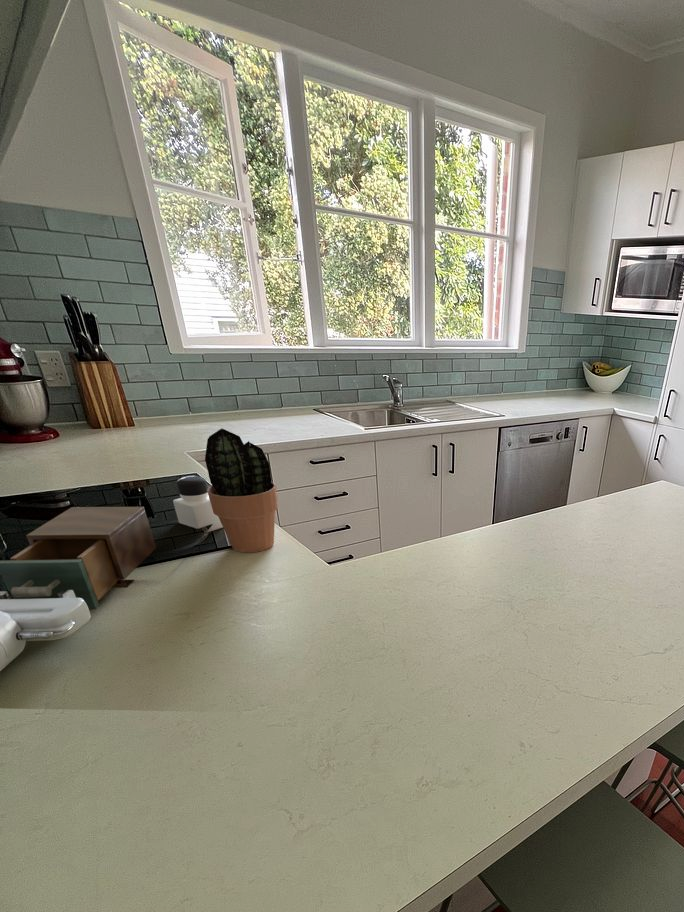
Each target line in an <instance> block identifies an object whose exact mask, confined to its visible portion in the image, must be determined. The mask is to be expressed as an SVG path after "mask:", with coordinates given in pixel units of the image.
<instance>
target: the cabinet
mask: <svg viewBox="0 0 684 912" xmlns="http://www.w3.org/2000/svg"><path fill="white" fill-rule="evenodd" d="M25 536H26V538H27V541H28V542H29V546H30V545H32V544H33V543H35V542H36V541H38V540H39V539H106V542H107V544H108V547H109V550H110V553H111V556H112V559H113V562H114V564H115V567H116V570H117V573H118V576H119V578H118V580H119V581H118V582H117V583H116V584H115V585H114V586H113V587H112V588H111V589H125V588H128V587H129V586H130V585H131V584H132V583H133V582H134V581H135V579H127V578H128V576H130V575H131V573H133V572H134V571H135V570H136V568H138V567H139V566H140V565H141V564H142V562H144V561H145V560H146V559H147V558H148V557H149V556H151V554H152V553H153V552H154V551H155V550H156V549H157V546H156V543H155V540H154V536H153V533H152V529H151V526H150V523H149V520H148V516H147V512H146V509H145V507H144V506H72V507H69V508H68V509H66V510H64V511H63V512H62V513H60V514H59V515H56V516H55V517H54V518H51V519H50V520H48V521H47V522H45V523H44V524H42V525H41V526H39V527H37V528H36V529H34V530H33V531H31V532H30V533H28V534H26V535H25Z"/></svg>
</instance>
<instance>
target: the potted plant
mask: <svg viewBox="0 0 684 912" xmlns="http://www.w3.org/2000/svg"><path fill="white" fill-rule="evenodd" d="M205 447H206V448H205V457H204V461H205V465H206V469H207V475H208V478H209V482H210V484H211V485H209V486H208V489H207V492H208V496H209V499H210V502H211V506H212V509H213V513H214V514H215V515H217V516H218V517H219V519H220V522H221V524H222V526H223V528H222V529H223V531H224V532H225V535H226V537H227V539H228V542H229V544H230V546H231V548H232V549H233V550H234V551H236V552H240V553H258V552H262V551H266V550H268V549H270V548H271V547H273V546H274V543H275V524H276V511H277V510H278V507H279V502H278V494H277V486H276V484H275V482H273V480H272V474H271V473H272V472H271V466H270V462H269V460H268V458H267V456H266V454H265V452H264V450H263V448H261V447H260V446H257V445H256V444H254V443H252V442H250V440H248V441H247V442H246V443H244V442H243V440H242V439H241V437H240V435H238V434H236V433H233V432H231V431H230V430H227V429H224V428H219V429H218V430H217V431H215V432H214V433H212V434H211V435H209V436H208V437H207V441H206V446H205Z"/></svg>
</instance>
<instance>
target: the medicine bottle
mask: <svg viewBox="0 0 684 912" xmlns="http://www.w3.org/2000/svg"><path fill="white" fill-rule="evenodd" d="M176 485H177V488H178V492H179V496H180V497H179V498H176V499H173V500H172V503H173V507H174V510H175V513H176V518H177V521H178V523H179V524H181V525H184V526H188V527H191V528H194V529H196V530H197V529H198V530H199V529H201V528H205V527H208V526H210V527H209V528H208V530H207V531H205V534H208V533H211V532H214V531H216V530H220V529H224V528H223V526H222V524H221V522H220V519H219V517H218V516H217V515H215V514H214V513H213V509H212V506H211V502H210V499H209V496H208V492H207V489H208V488H209V486H208V484H207V479H206V478H205V477H202V476H200V475H187V476H183V477H181V478H179V479H177V481H176Z"/></svg>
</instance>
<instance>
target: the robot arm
mask: <svg viewBox="0 0 684 912" xmlns="http://www.w3.org/2000/svg"><path fill="white" fill-rule="evenodd" d="M58 597H59V598H44V599H13V596H11V592H9V591H8V590H7V591H6V590H5V591H3V590H0V672H2V671H3V670H4V669H5V668H6V667H7V666H8V665H9V664H10V663H12V661H14V659H16V658H17V657H18V656H19V655H20V654H22V652H23V651H24V649H25V648H26V642H30V641H31V642H32V641H33V642H34V641H56V640H61V639H64V638H67V637H69V636H71V635H72V634H74V633H75V632H76V631H77V630H79V629H80V628H82V627H83V626H85V624H87V623H88V622H89V621H90V620H91V612H90V609H88V606H87V604H86V602H85V601H84V600H83V599H82V598H76V596H75V594H74V591H73V590H62V591H61V592H59V593H58Z"/></svg>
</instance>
